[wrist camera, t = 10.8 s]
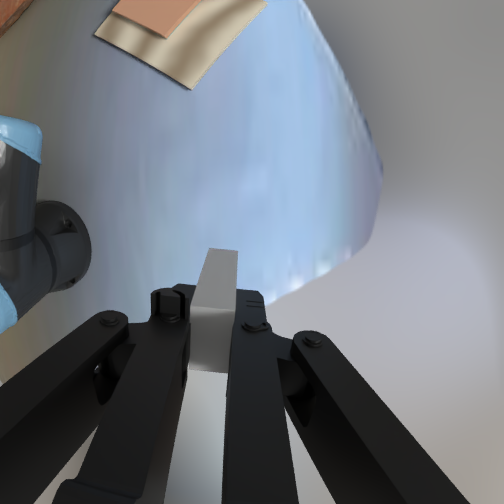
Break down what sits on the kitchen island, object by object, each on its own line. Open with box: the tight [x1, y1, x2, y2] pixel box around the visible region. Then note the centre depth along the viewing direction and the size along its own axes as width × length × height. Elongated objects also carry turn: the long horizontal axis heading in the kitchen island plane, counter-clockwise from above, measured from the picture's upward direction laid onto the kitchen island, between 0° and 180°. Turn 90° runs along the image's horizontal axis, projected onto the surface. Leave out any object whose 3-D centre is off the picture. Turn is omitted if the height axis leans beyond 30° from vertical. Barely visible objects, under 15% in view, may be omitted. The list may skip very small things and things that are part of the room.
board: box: [95, 0, 267, 90], centre depth 35 cm, size 20×18×1 cm
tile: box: [112, 0, 202, 39], centre depth 33 cm, size 2×9×11 cm
